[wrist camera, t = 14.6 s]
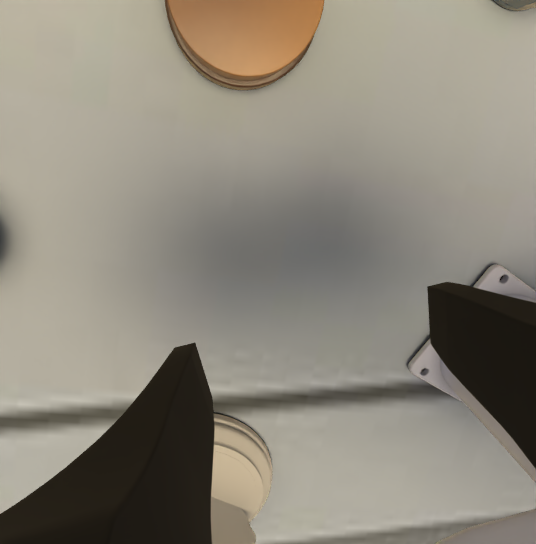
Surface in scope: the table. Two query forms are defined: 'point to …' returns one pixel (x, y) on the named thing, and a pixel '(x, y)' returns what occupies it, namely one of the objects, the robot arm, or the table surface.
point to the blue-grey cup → (517, 4)
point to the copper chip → (246, 33)
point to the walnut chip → (223, 80)
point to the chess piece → (237, 481)
